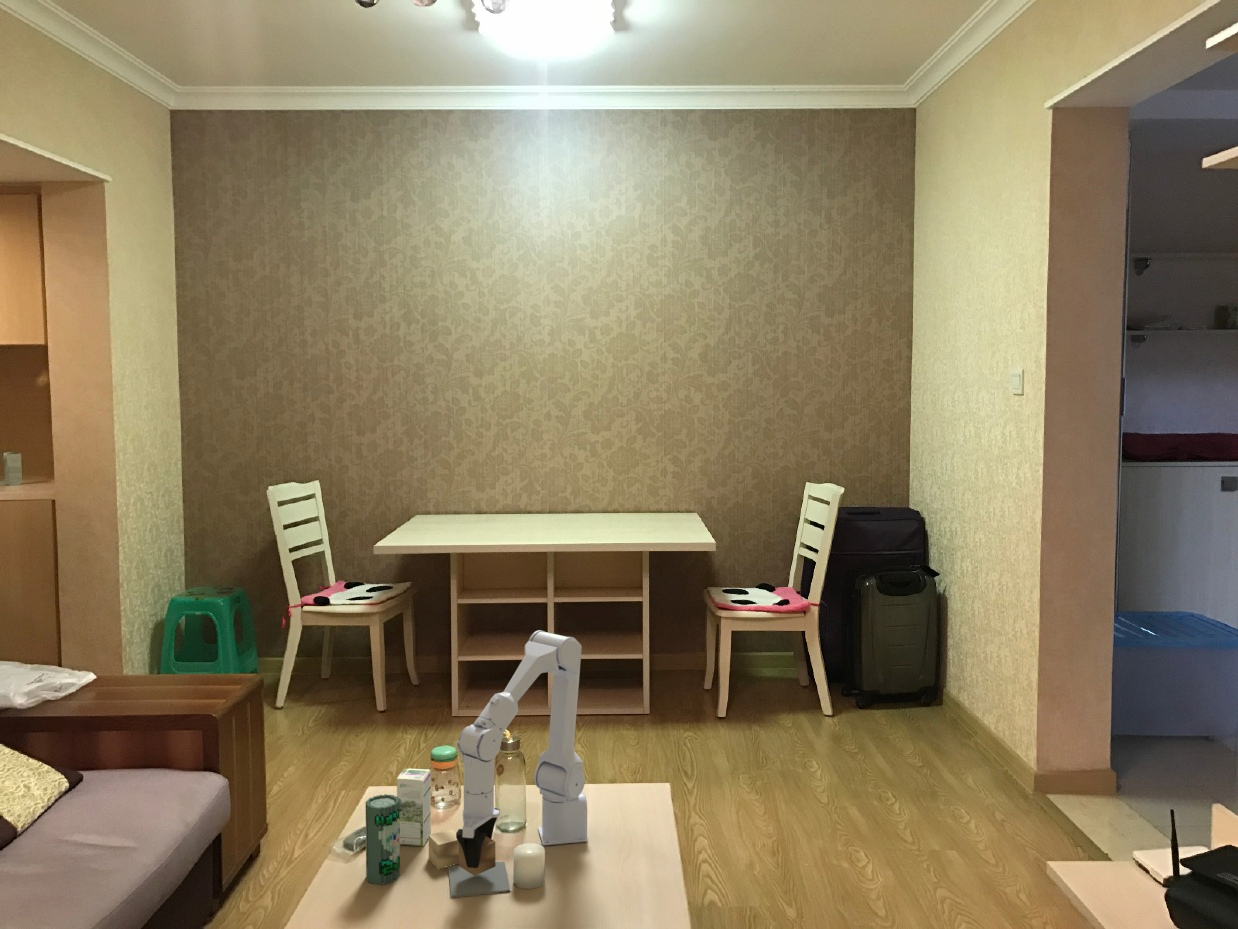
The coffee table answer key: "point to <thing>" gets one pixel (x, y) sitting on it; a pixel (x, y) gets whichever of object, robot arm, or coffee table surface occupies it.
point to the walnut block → (485, 861)
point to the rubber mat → (478, 881)
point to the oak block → (444, 848)
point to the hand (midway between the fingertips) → (478, 857)
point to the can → (382, 839)
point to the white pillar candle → (529, 865)
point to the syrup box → (414, 806)
